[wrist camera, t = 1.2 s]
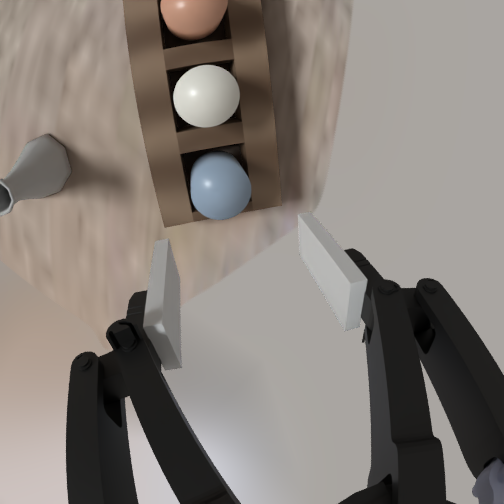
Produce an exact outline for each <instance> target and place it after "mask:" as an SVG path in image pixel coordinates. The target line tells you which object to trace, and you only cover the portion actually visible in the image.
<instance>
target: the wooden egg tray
mask: <svg viewBox="0 0 504 504" xmlns="http://www.w3.org/2000/svg"><path fill="white" fill-rule="evenodd" d="M160 4H161V0H123V7H124V17H125V26H126V35H127V43H128V51H129V58H130V65H131V71H132V78H133V84H134V90H135V96H136V102H137V107H138V113H139V118H140V123H141V128H142V133H143V138H144V143H145V148H146V152H147V157H148V162H149V166H150V170H151V175H152V179H153V183H154V187H155V192H156V196H157V200H158V204H159V208H160V212H161V215H162V219H163V223H164V227H165V228H166V227H171V226H175V225H180V224H185V223H190V222H195V221H200V220H205V219H210V218H208V217H206V216H204V215H203V214H201V213H200V212H199V211H198V210H197V209H196V207H195V206H194V204H193V202H192V198H191V194H190V189H189V184H188V179H187V173H186V168H185V163H184V158H183V153H187V152H192V151H198V150H203V149H208V148H214V147H220V146H226V145H232V144H238V143H239V144H240V152H241V160H242V168H243V170H244V171H245V173H246V175H247V176H248V178H249V180H250V183H251V197H250V200H249V202H248V204H247V206H246V207H245V208H244V209H243V211H241V212H240V213H242V212H248V211H253V210H259V209H265V208H270V207H276V206H282V200H281V187H280V174H279V162H278V151H277V140H276V129H275V118H274V108H273V98H272V89H271V80H270V71H269V62H268V53H267V45H266V37H265V29H264V21H263V14H262V6H261V0H228V5H227V9H226V11H225V13H224V15H223V20H224V28H225V36H226V40H217V41H209V42H202V43H196V44H190V45H184V46H179V47H173V48H168V49H166V47H165V40H164V32H163V24H162V15H161V7H160ZM223 63H229V67H230V74H231V75H232V76H233V77H234V78H235V80H236V82H237V84H238V87H239V91H240V99H239V104H238V106H237V109H236V110H235V113H236V118H230V119H228V120H226V121H225V122H223V123H221V124H220V125H217V126H213V127H197V126H194V125H189V126H184V127H179V128H178V125H177V119H176V113H175V107H174V101H173V95H172V88H171V82H170V75H169V72H174V71H179V70H185V69H190V68H195V67H198V66H202V65H215V64H223Z"/></svg>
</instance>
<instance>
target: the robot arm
mask: <svg viewBox="0 0 504 504" xmlns="http://www.w3.org/2000/svg"><path fill="white" fill-rule="evenodd" d="M298 226H299V255H300V257H301V258H302V260H303V261H304V263H305V265H306V266H307V268H308V270H309V271H310V273H311V275H312V276H313V278H314V280H315V281H316V283H317V285H318V287H319V288H320V289H321V292H322V293H323V295H324V297H325V298H326V300H327V302H328V303H329V305H330V307H331V309H332V310H333V312H334V314H335V316H336V317H337V319H338V321H339V323H340V324H341V326H342V328H343V330H344V331H348V330H351V329H354V328H358V327H360V322H361V318H362V320H363V321H364V323H365V324H366V325H365V329H364V334H363V339H362V342H364V341H365V343H366V353H367V364H368V376H369V392H370V411H371V469H370V473H369V477H368V485H367V488H366V489H364V490H361V491H359V492H356V493H354V494H352V495H351V496H349V497H348V498H346V499H345V500H343V501H341V502H340V503H338V504H455V503H453V502H450V501H447V500H446V486H445V471H444V460H443V450H442V444H441V442H440V440H439V439H438V438H436V437H434V435H433V432H432V426H431V418H430V412H429V406H428V399H427V393H426V388H425V382H424V377H423V372H422V368H421V363H420V360H421V362H422V364H423V366H424V368H425V370H426V372H427V374H428V376H429V378H430V380H431V382H432V384H433V386H434V388H435V391H436V393H437V395H438V397H439V399H440V401H441V404H442V406H443V408H444V410H445V413H446V414H447V417H448V419H449V422H450V424H451V427H452V429H453V431H454V434H455V436H456V438H457V441H458V444H459V446H460V449H461V451H462V454H463V456H464V459H465V461H466V463H467V465H468V467H469V469H470V471H471V472H472V474H473V476H474V477H475V478H476V479H477V480H476V483H475V485H474V487H473V490H472V493H473V495H474V496H475V497H478V499H479V504H504V375H503V374H502V372H501V370H500V368H499V367H498V365H497V363H496V362H495V361H494V359H493V357H492V356H491V354H490V353H489V351H488V349H487V348H486V346H485V345H484V343H483V341H482V340H481V338H480V337H479V335H478V334H477V332H476V331H475V330H474V328H473V327H472V325H471V324H470V322H469V321H468V320H467V318H466V317H465V315H464V314H463V312H462V311H461V310H460V308H459V307H458V306H457V304H456V303H455V302H454V300H453V299H452V298H451V296H450V295H449V294H448V292H447V291H446V290H445V289H444V287H443V286H442V285H441V284H440V283H439V282H438V281H436V280H434V279H430V278H424V279H421V280H419V281H418V283H417V286H416V288H400V286H399V285H398V284H397V283H395V282H393V281H391V280H385V279H383V277H382V276H381V275H380V274H379V273H378V272H377V271H376V269H375V268H374V267H373V266H372V265H370V262H369V261H368V260H366V258H365V257H364V256H363V255H362V253H360V252H359V251H357V250H355V249H348V250H343V249H342V248H341V246H340V245H339V244H338V243H337V242H336V241H335V240H334V238H333V237H332V236H331V235H330V233H329V232H328V231H327V230H326V229H325V228H324V227H323V225H322V224H321V223H320V222H319V221H318V220H317V218H316V217H315V216H314V215H313V214H312V213H311V212H306V213H301V214H298ZM106 338H107V340H108V341H109V343H110V345H111V346H112V348H113V351H111V352H109V353H107V354H105V355H102V356H100V357H98V356H97V355H96V354H95V353H93V352H84V353H81V354H80V355H78V356H77V357H76V358H75V359H74V360H73V362H72V365H71V371H70V382H69V393H68V405H67V425H66V472H67V490H68V503H69V504H138V499H137V494H136V488H135V483H134V477H133V470H132V464H131V457H130V449H129V440H128V431H127V422H126V409H125V397H127V396H130V398H131V401H132V403H133V406H134V408H135V411H136V413H137V416H138V418H139V421H140V423H141V425H142V428H143V430H144V433H145V435H146V437H147V439H148V442H149V444H150V446H151V448H152V450H153V453H154V455H155V457H156V459H157V461H158V463H159V465H160V467H161V469H162V471H163V473H164V475H165V477H166V479H167V481H168V483H169V484H170V486H171V488H172V490H173V492H174V493H175V495H176V497H177V499H178V501H179V502H180V504H241V503H240V502H239V500H238V499H237V498H236V496H235V495H234V494H233V492H232V491H231V489H230V488H229V486H228V485H227V484H226V482H225V481H224V479H223V478H222V476H221V475H220V473H219V472H218V470H217V469H216V467H215V466H214V464H213V462H212V461H211V459H210V458H209V456H208V455H207V453H206V451H205V450H204V448H203V446H202V445H201V443H200V442H199V440H198V438H197V437H196V435H195V433H194V431H193V430H192V428H191V426H190V425H189V423H188V421H187V419H186V418H185V416H184V414H183V412H182V410H181V408H180V407H179V405H178V403H177V401H176V399H175V397H174V395H173V393H172V392H171V390H170V388H169V386H168V384H167V382H166V380H165V378H164V376H163V374H162V372H161V364H162V365H163V367H164V369H165V370H170V369H177V368H182V364H181V363H182V360H181V329H180V276H179V273H178V270H177V266H176V263H175V259H174V256H173V252H172V249H171V245H170V242H169V238H168V239H163V240H158V241H155V246H154V252H153V258H152V264H151V270H150V277H149V284H148V290H147V291H141V292H136V293H134V294H133V296H132V297H131V299H130V300H129V304H128V310H127V316H126V319H121V320H118V321H116V322H114V323H113V324H112V325H111V326H110V327H109V328H108V330H107V332H106Z"/></svg>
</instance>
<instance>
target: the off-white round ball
mask: <svg viewBox="0 0 504 504" xmlns="http://www.w3.org/2000/svg"><path fill="white" fill-rule="evenodd" d="M239 99H240V91H239V87H238V84H237V82H236V80H235V78H234V77H233V76H232V75H231V74H230V73H229V72H228V71H226V70H225V69H223V68H221V67H218V66H214V65H202V66H198V67H195V68H193V69H191V70H189V71H187V72H186V73H185V74H184V75H183V76H182V77H181V78H180V79H179V81H178V82H177V84H176V86H175V89H174V95H173V100H174V105H175V108H176V111H177V112H178V114H179V115H180V117H181V118H182V119H183V120H185V121H186V122H188V123H189V124H191V125H194V126H197V127H213V126H217V125H220V124H221V123H223V122H225V121H226V120H228V119H229V118H230V117H231V116H232V115H233V113H234V112H235V110H236V109H237V106H238V104H239Z"/></svg>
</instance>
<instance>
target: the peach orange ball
mask: <svg viewBox="0 0 504 504" xmlns="http://www.w3.org/2000/svg"><path fill="white" fill-rule="evenodd" d="M227 5H228V0H161V12H162V15H163V17H164V20H165V22H166V25H167V27H168V29H169V31H170V32H171V33H172V34H173V35H175V36H176V37H178V38H180V39H184V40H199V39H202V38H205V37H207V36H209V35H210V34H212V33H213V32H214V31H215V30H216V29H217V27H218V26H219V24H220V22H221V20H222V17H223V15H224V13H225V11H226V9H227Z"/></svg>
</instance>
